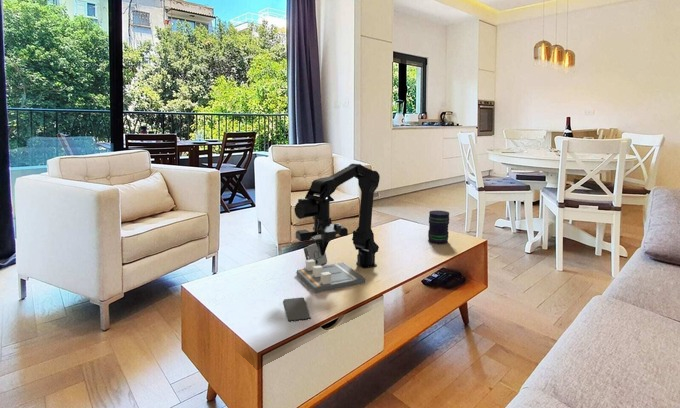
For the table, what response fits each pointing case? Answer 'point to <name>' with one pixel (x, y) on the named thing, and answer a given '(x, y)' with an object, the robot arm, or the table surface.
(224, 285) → the table surface
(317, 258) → the electrical switch
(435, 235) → the storage jar
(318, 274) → the handle middle
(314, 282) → the breaker panel
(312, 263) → the handle
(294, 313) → the smartphone
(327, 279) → the handle
